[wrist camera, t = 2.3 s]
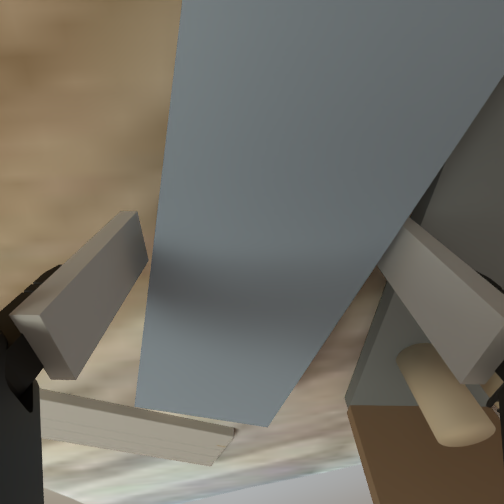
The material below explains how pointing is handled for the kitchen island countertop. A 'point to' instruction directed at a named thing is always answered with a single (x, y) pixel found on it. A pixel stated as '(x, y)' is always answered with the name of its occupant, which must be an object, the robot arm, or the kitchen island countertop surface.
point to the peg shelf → (426, 356)
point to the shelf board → (294, 180)
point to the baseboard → (130, 429)
